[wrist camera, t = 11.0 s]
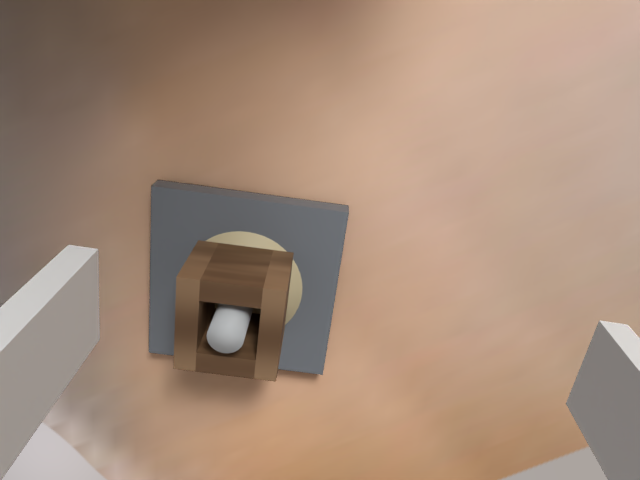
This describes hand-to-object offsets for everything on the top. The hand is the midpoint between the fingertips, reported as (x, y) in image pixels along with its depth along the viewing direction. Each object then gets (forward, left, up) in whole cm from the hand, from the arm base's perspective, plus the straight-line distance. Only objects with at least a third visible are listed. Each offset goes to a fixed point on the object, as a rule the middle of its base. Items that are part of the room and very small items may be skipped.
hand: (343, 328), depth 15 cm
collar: (+13, -6, -25) cm, 28 cm away
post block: (+13, -6, -26) cm, 30 cm away
